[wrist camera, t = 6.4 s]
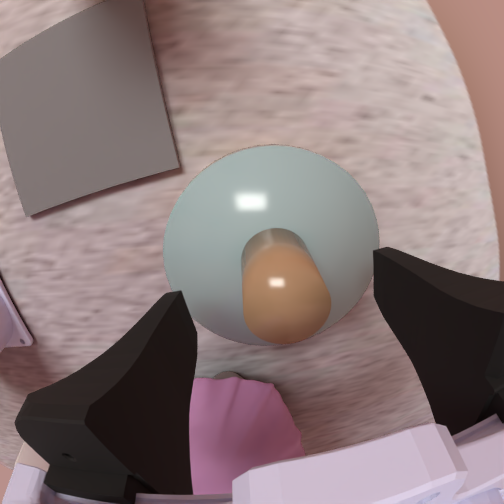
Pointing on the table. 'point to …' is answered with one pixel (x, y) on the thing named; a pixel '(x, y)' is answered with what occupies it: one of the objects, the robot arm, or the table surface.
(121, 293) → the table surface
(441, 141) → the table surface
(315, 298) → the lid
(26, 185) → the mat
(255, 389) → the toy character
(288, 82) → the table surface
